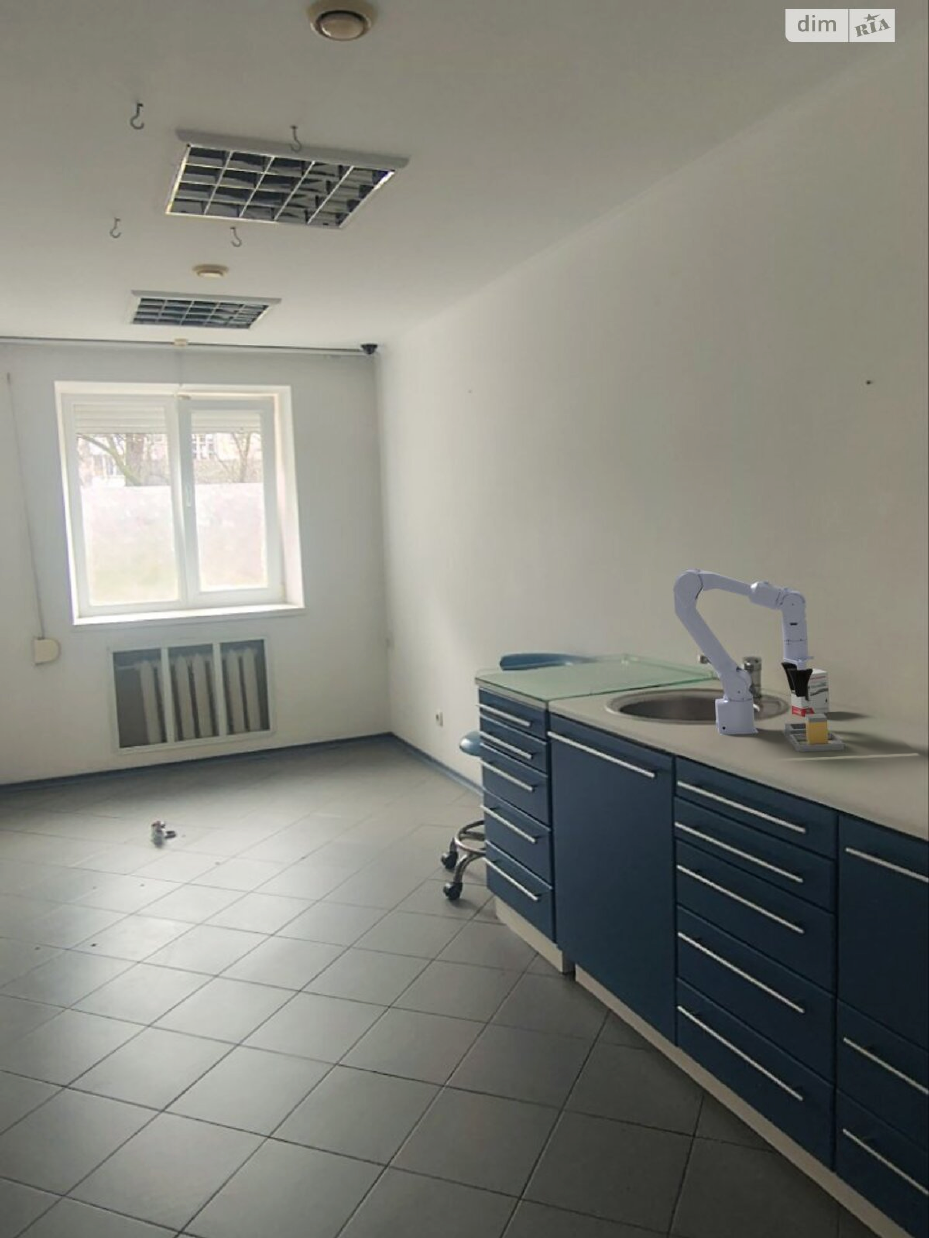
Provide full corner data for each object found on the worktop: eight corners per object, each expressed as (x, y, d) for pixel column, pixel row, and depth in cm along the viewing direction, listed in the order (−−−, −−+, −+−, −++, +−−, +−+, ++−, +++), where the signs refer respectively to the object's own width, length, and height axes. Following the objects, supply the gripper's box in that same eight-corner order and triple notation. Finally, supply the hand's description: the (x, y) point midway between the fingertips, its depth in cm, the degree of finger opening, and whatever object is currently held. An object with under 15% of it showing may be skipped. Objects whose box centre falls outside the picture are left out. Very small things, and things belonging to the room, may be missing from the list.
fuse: (810, 747, 203) (808, 718, 202) (806, 743, 207) (805, 714, 206) (828, 747, 202) (826, 717, 201) (824, 742, 206) (823, 713, 205)
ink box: (802, 718, 231) (800, 674, 229) (791, 715, 235) (789, 672, 234) (830, 714, 232) (828, 670, 231) (819, 710, 237) (817, 667, 236)
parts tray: (798, 754, 201) (797, 745, 200) (790, 742, 210) (789, 734, 210) (844, 752, 199) (843, 743, 198) (833, 740, 208) (833, 732, 208)
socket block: (787, 741, 211) (786, 731, 211) (780, 731, 220) (779, 722, 220) (826, 739, 210) (825, 729, 209) (818, 730, 218) (817, 720, 218)
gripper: (818, 642, 208) (821, 698, 209) (806, 633, 222) (808, 686, 224) (787, 644, 209) (790, 700, 211) (777, 635, 223) (779, 687, 225)
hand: (797, 693), depth 217 cm, fingers open, 7 cm apart
